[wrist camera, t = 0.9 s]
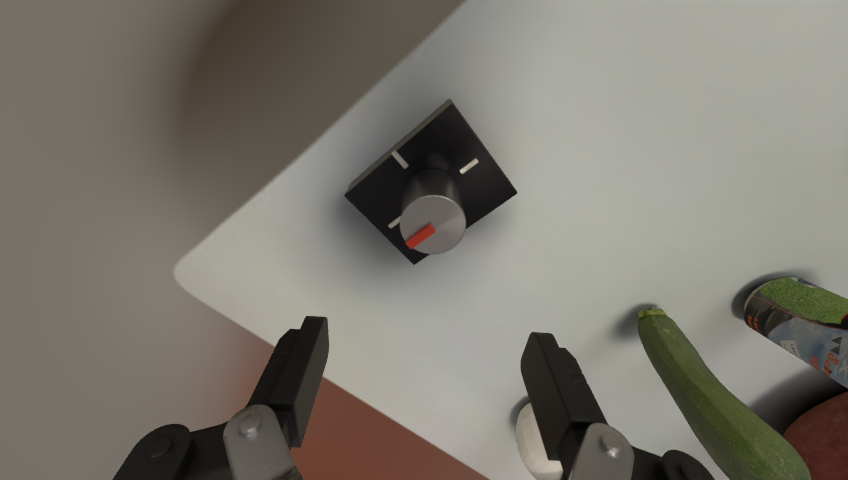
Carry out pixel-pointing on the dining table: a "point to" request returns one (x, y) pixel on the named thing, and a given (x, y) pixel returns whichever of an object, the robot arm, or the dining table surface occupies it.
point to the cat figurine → (534, 447)
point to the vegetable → (716, 408)
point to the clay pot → (823, 439)
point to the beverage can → (803, 323)
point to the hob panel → (431, 149)
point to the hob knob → (432, 212)
